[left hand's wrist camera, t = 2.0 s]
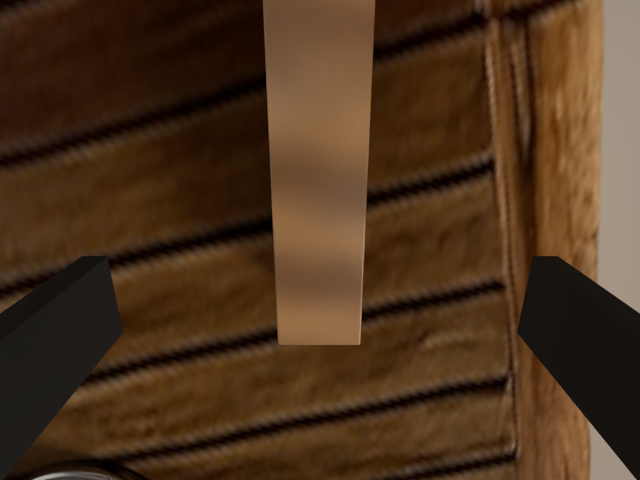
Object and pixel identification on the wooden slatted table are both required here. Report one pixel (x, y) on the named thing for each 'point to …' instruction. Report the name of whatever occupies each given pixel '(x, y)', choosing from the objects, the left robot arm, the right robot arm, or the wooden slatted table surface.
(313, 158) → the bar
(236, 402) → the wooden slatted table surface
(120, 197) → the wooden slatted table surface
